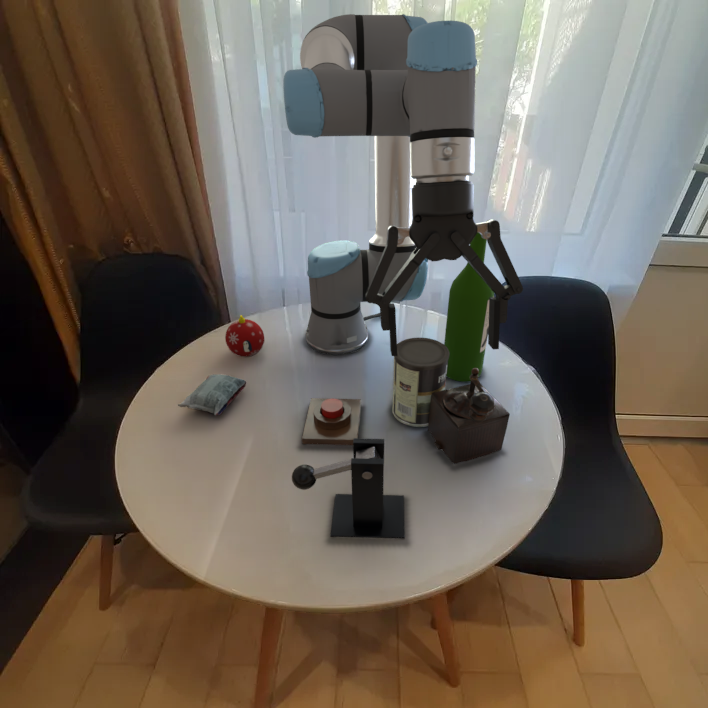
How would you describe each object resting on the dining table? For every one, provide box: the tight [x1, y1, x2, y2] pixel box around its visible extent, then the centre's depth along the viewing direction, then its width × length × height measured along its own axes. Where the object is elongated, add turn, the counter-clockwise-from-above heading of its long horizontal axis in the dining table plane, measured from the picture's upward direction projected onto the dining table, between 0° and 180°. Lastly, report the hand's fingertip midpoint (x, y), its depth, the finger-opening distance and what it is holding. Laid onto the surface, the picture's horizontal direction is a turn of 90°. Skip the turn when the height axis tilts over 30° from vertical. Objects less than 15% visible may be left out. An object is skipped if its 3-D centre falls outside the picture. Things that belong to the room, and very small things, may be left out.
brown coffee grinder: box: [426, 368, 510, 465], centre depth 83 cm, size 16×11×18 cm
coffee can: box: [391, 337, 449, 428], centre depth 93 cm, size 10×10×14 cm
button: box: [321, 398, 343, 419], centre depth 91 cm, size 4×4×2 cm
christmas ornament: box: [224, 314, 265, 358], centre depth 111 cm, size 9×9×10 cm
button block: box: [301, 397, 362, 446], centre depth 92 cm, size 12×10×4 cm
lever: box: [291, 446, 381, 491], centre depth 69 cm, size 13×4×4 cm, turn 89°
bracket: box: [329, 437, 406, 539], centre depth 71 cm, size 11×8×15 cm
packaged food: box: [177, 373, 248, 416], centre depth 97 cm, size 9×12×5 cm
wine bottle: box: [443, 232, 495, 383], centre depth 100 cm, size 9×9×32 cm
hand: (443, 350), depth 66 cm, fingers open, 13 cm apart
